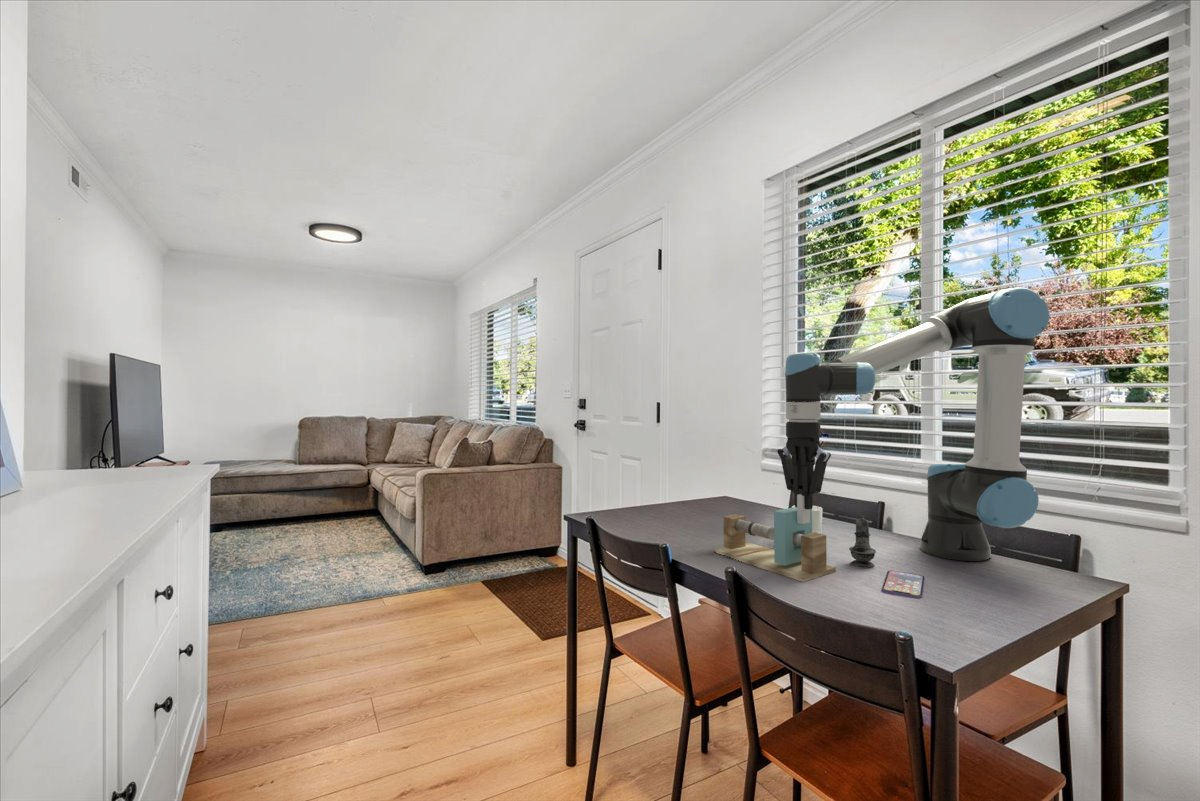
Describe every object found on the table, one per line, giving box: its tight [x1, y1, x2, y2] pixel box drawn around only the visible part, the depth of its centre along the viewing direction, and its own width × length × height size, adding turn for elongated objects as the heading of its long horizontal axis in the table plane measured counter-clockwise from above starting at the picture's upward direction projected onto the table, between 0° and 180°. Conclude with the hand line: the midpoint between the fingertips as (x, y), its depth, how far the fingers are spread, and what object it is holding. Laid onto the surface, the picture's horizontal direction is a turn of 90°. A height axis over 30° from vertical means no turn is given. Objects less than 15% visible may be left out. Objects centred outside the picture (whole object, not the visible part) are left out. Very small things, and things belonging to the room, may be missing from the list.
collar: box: [773, 506, 812, 565], centre depth 128 cm, size 3×10×12 cm, turn 123°
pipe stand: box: [713, 513, 837, 583], centre depth 134 cm, size 27×12×9 cm, turn 33°
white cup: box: [791, 505, 823, 534], centre depth 149 cm, size 8×8×10 cm
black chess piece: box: [848, 514, 877, 569], centre depth 131 cm, size 6×6×12 cm
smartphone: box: [881, 570, 926, 599], centre depth 117 cm, size 1×7×15 cm
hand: (803, 522), depth 126 cm, fingers closed
